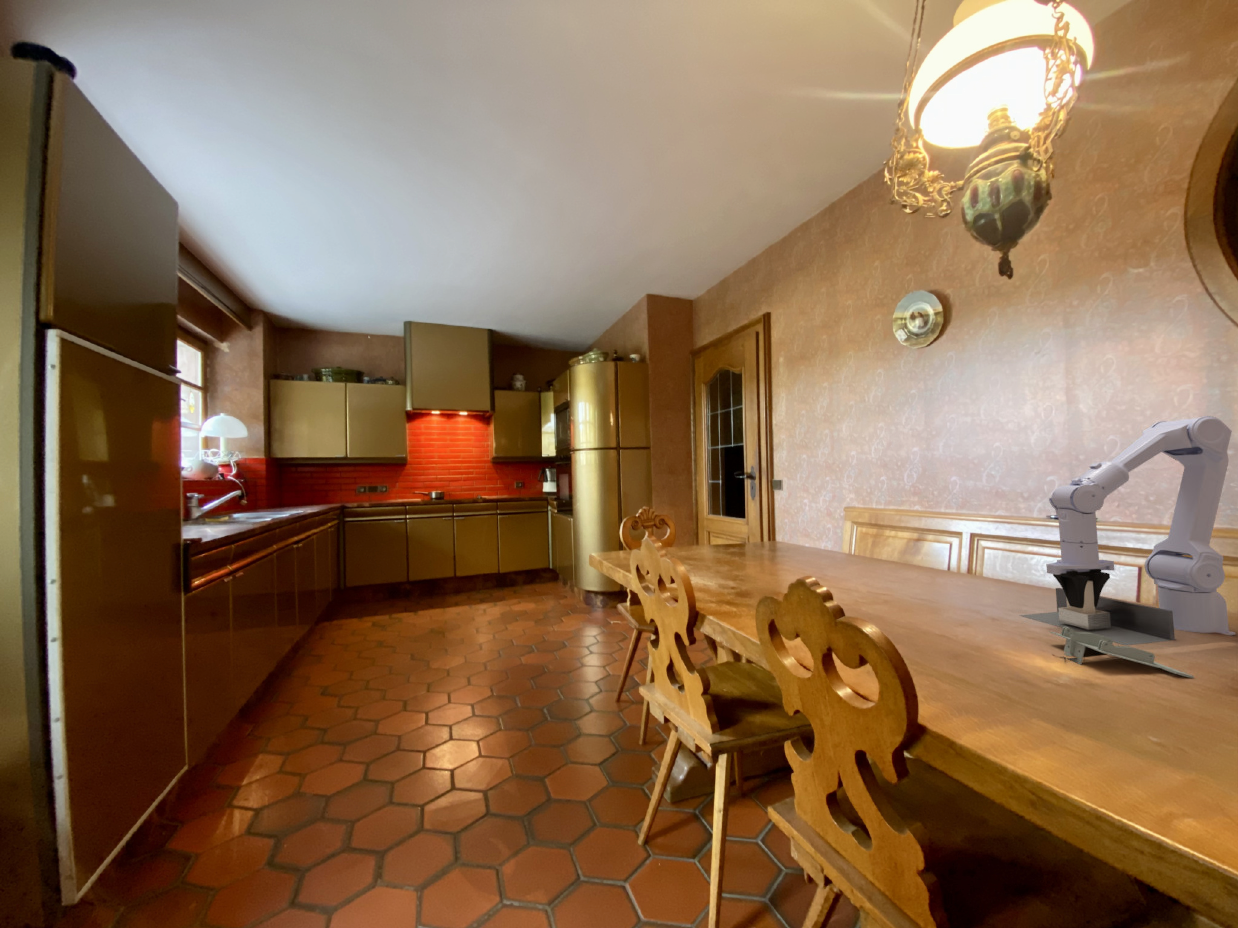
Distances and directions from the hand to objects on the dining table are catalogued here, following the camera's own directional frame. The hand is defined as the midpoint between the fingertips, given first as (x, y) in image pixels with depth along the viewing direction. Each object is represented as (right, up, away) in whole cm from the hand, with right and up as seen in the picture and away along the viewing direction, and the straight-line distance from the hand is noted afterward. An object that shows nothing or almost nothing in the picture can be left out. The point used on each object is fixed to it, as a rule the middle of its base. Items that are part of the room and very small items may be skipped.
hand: (1083, 606), depth 98 cm
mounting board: (+2, -5, 0) cm, 6 cm away
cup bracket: (+2, -4, 0) cm, 5 cm away
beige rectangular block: (0, -2, 0) cm, 2 cm away
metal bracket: (-10, -6, -15) cm, 19 cm away
